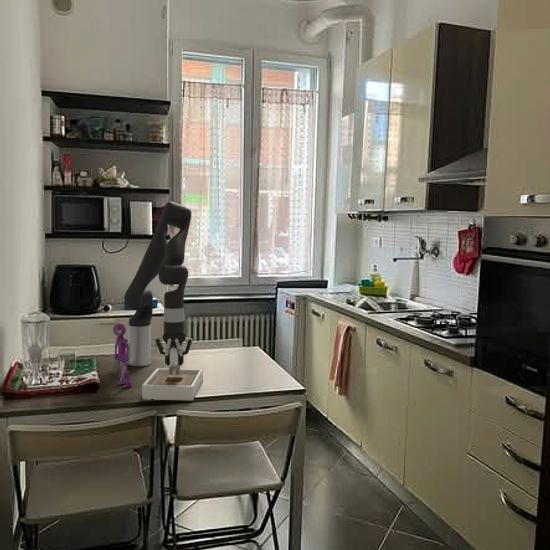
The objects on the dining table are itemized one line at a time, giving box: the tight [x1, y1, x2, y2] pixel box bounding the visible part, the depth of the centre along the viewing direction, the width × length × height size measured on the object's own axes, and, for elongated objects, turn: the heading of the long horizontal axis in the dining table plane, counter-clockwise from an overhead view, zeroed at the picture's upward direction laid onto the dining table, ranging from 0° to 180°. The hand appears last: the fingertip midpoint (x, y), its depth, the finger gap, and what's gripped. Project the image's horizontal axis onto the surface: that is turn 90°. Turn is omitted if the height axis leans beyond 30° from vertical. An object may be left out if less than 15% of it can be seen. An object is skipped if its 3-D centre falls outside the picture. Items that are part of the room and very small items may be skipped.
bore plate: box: [151, 374, 196, 386], centre depth 211 cm, size 14×14×3 cm
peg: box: [168, 347, 181, 375], centre depth 210 cm, size 4×4×10 cm
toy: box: [112, 323, 133, 389], centre depth 213 cm, size 16×7×24 cm, turn 37°
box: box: [141, 367, 204, 401], centre depth 211 cm, size 18×22×5 cm
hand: (174, 365), depth 210 cm, fingers closed on peg, 4 cm apart
